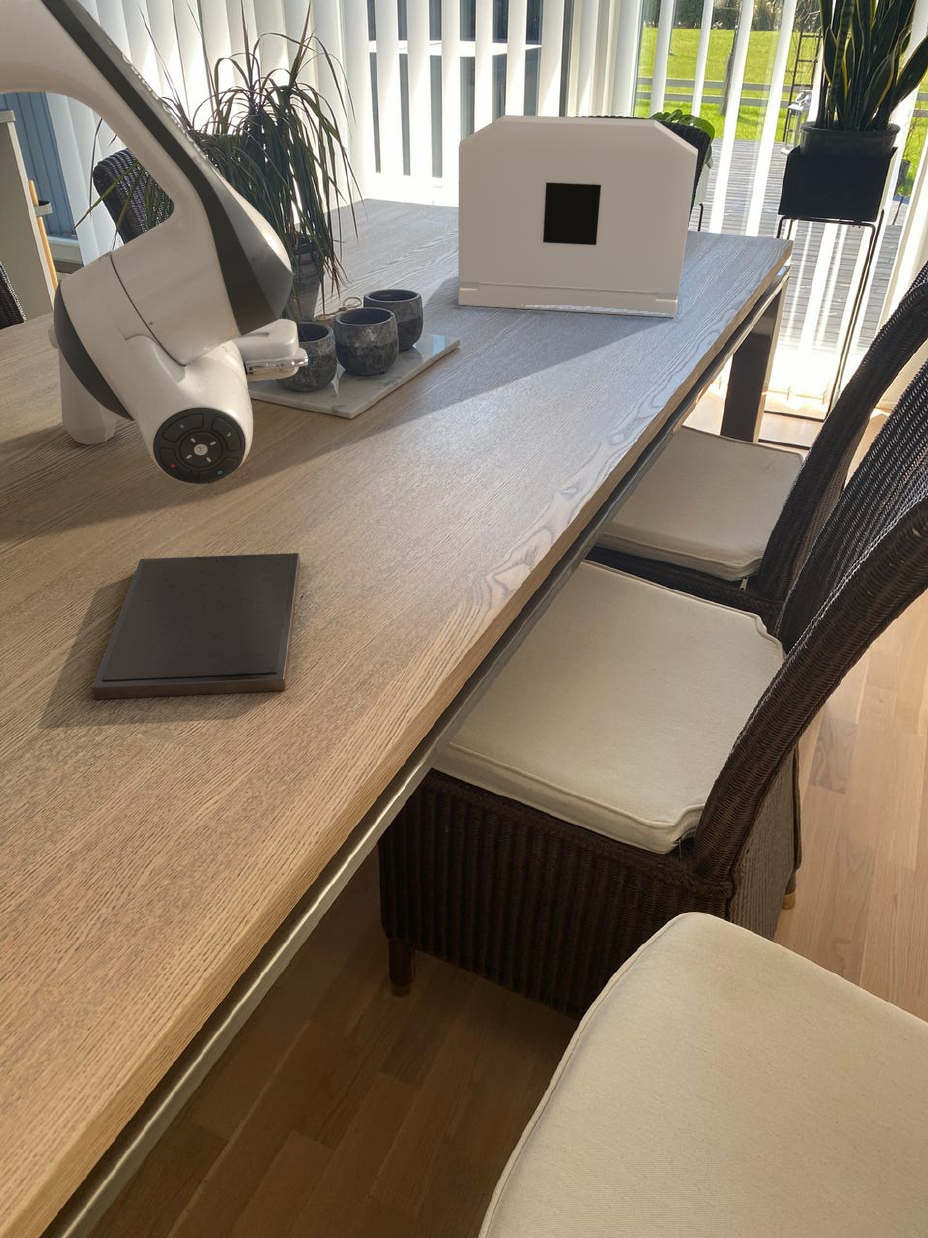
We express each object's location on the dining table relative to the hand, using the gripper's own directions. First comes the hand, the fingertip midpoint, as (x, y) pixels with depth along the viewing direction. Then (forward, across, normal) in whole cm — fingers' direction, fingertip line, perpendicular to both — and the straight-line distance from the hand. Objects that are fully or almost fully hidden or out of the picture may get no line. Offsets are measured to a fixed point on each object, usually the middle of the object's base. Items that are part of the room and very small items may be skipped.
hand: (192, 327), depth 96 cm
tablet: (-33, +2, +14) cm, 36 cm away
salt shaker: (+8, +13, +14) cm, 20 cm away
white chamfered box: (+49, -59, +14) cm, 78 cm away
